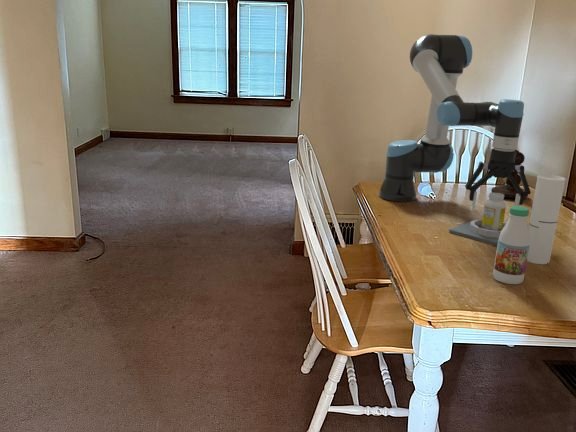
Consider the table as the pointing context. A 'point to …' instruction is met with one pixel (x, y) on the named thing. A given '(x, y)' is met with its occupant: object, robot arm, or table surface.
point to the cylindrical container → (544, 217)
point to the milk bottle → (513, 248)
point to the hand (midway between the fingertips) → (493, 212)
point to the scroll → (510, 188)
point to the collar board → (477, 232)
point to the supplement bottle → (494, 212)
